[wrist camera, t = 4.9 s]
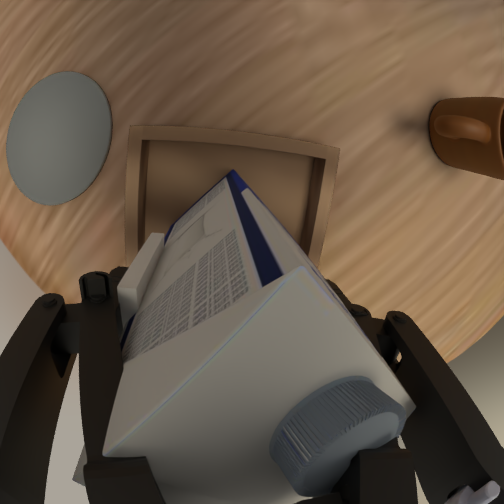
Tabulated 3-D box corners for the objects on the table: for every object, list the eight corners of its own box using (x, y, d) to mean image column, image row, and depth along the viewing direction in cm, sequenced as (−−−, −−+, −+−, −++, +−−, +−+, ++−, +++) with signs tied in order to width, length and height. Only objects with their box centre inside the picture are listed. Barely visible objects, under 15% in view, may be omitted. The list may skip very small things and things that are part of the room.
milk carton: (168, 224, 22) (66, 485, 3) (231, 166, 21) (360, 352, 2) (227, 282, 24) (263, 533, 6) (288, 232, 23) (445, 451, 5)
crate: (140, 127, 19) (129, 125, 16) (325, 147, 22) (340, 148, 19) (138, 297, 24) (130, 314, 22) (295, 306, 27) (303, 324, 24)
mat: (17, 84, 15) (13, 83, 14) (122, 65, 17) (119, 63, 16) (10, 203, 19) (6, 204, 19) (108, 205, 21) (106, 207, 21)
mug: (394, 164, 23) (467, 180, 14) (389, 85, 20) (461, 72, 11) (469, 168, 24) (531, 185, 15) (467, 105, 21) (530, 108, 12)
